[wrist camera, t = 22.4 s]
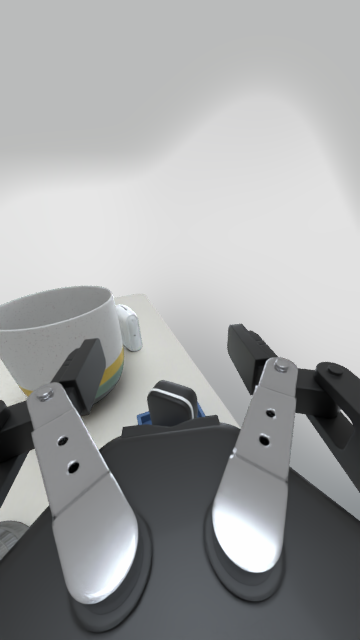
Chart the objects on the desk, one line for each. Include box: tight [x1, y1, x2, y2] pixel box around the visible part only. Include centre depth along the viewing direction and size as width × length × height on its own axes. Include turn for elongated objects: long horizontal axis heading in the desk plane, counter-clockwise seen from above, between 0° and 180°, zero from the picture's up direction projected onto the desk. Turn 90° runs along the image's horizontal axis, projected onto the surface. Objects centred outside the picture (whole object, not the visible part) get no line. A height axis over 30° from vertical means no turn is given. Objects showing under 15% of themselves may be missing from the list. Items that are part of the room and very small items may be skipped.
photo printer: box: [115, 304, 142, 351], centre depth 58 cm, size 10×4×12 cm, turn 40°
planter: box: [0, 286, 124, 404], centre depth 39 cm, size 20×20×21 cm
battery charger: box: [147, 380, 198, 427], centre depth 30 cm, size 7×4×11 cm, turn 65°
